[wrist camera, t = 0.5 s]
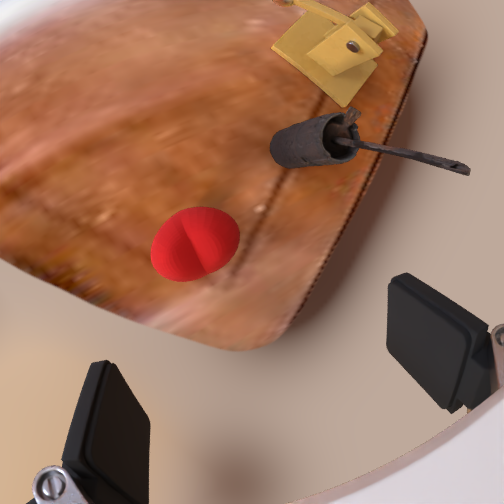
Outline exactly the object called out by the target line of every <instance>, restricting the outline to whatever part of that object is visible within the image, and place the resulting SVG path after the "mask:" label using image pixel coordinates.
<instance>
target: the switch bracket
mask: <svg viewBox="0 0 504 504" xmlns="http://www.w3.org/2000/svg"><path fill="white" fill-rule="evenodd" d="M359 15H361V16H363V17H365V18H367V19H368V20H370V21H372V22H374V23H375V24H377V25H379V26H381V27H382V28H383V31H382V33H381V36H380V39H379V41H378V42H377V43H375V42H374V41H373V40H372V39H371V38H370V37H369V36H368V35H367V34H366V33H365V32H364V31H363V30H362V29H360V28H359V27H358V26H357V25H356V24H355V23H354V22H353V21H349V22H348V23H346V24H345V25H343V26H340V25H338V24H337V25H334V24H333V23H332V22H331V21H329V20H328V19H326V18H324V17H322V16H320V15H317V14H315V13H313V12H311V11H309V10H308V11H307V12H306V13H305V14H304V15H303V16H302V17H301V18H300V19H299V20H298V21H297V22H295V23H294V24H293V25H292V26H291V27H290V28H289V29H288V30H287V32H286V33H285V34H284V35H283V36H282V37H281V38H280V39H279V40H278V41H277V42H276V43H275V44H274V45H273V46H272V47H271V49H272V50H273V51H275V52H276V53H277V54H279V55H280V56H281V57H283V58H284V59H285V60H287V61H288V62H289V63H290V64H292V65H293V66H294V67H296V68H297V69H298V70H299V71H301V72H302V73H303V74H304V75H305V76H307V77H308V78H309V79H310V80H311V81H313V82H314V83H315V84H316V85H317V86H318V87H320V88H321V89H322V90H323V91H324V92H325V93H326V94H328V95H329V96H330V97H331V98H332V99H333V100H334V101H335V102H336V103H337V104H339V105H340V106H341V107H342V108H343V107H346V106H347V105H348V104H349V102H350V101H351V100H352V98H353V97H354V96H355V94H356V93H357V92H358V90H359V89H360V88H361V86H362V85H363V84H364V83H365V81H366V80H367V79H368V77H369V76H370V75H371V73H372V72H373V71H374V69H375V68H376V67H377V65H378V64H377V63H376V62H375V61H374V60H373V58H375V57H378V56H380V54H381V53H382V52H383V50H382V49H381V48H380V47H379V46H378V45H377V44H378V43H380V42H382V41H384V40H386V39H389V38H391V37H393V36H395V35H396V34H397V33H398V32H399V31H398V30H397V29H396V27H395V26H394V25H393V24H392V23H391V22H390V21H389V20H388V19H387V18H386V17H385V16H383V15H382V14H381V13H380V12H379V11H378V10H377V9H376V8H375V7H374V6H373V5H372V4H371V3H370V2H368V3H366V4H365V5H363V6H362V7H360V8H359V9H358V10H356V11H355V12H353V13H352V14H351V15H349V16H348V17H349V18H351V19H353V20H356V18H357V17H358V16H359Z"/></svg>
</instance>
